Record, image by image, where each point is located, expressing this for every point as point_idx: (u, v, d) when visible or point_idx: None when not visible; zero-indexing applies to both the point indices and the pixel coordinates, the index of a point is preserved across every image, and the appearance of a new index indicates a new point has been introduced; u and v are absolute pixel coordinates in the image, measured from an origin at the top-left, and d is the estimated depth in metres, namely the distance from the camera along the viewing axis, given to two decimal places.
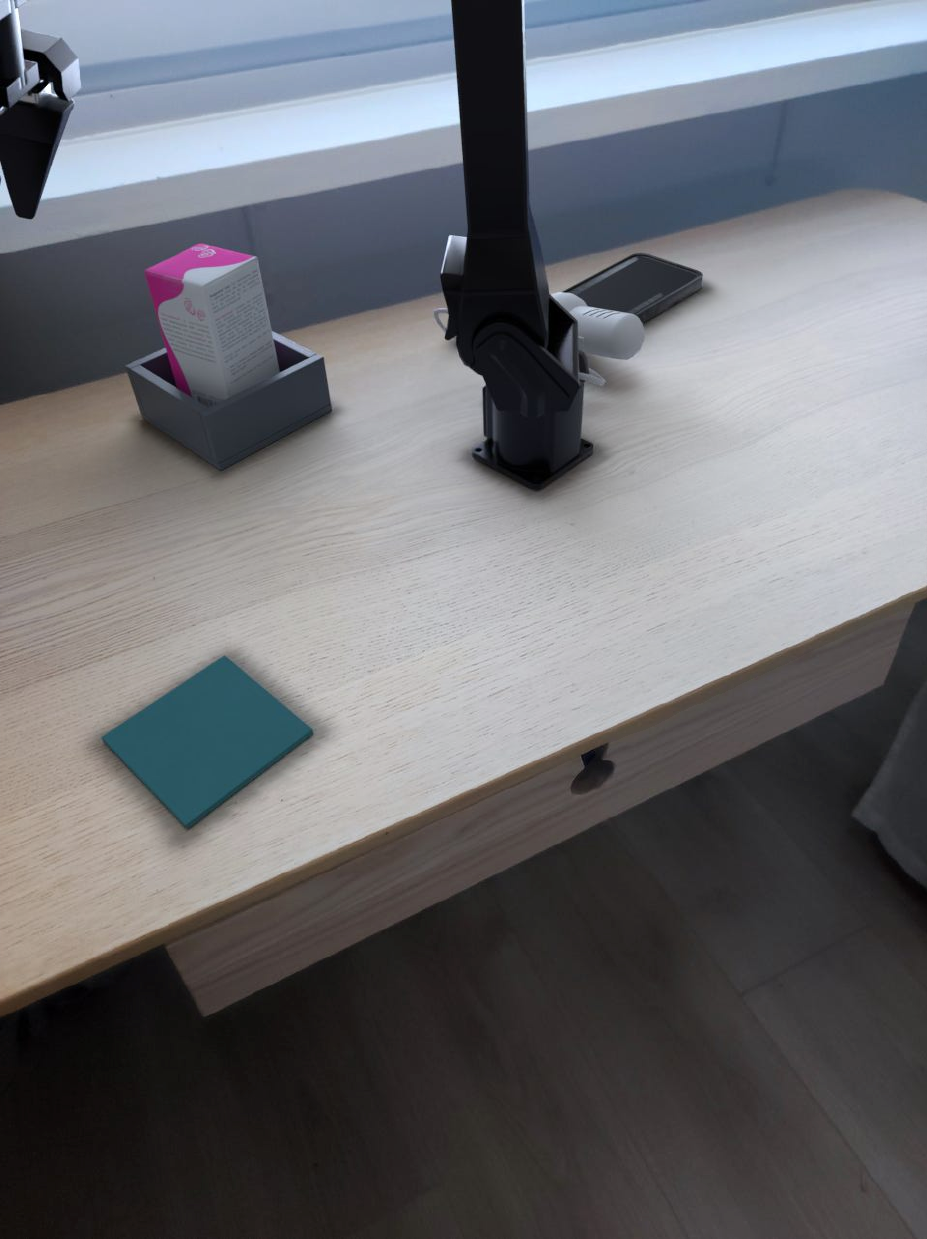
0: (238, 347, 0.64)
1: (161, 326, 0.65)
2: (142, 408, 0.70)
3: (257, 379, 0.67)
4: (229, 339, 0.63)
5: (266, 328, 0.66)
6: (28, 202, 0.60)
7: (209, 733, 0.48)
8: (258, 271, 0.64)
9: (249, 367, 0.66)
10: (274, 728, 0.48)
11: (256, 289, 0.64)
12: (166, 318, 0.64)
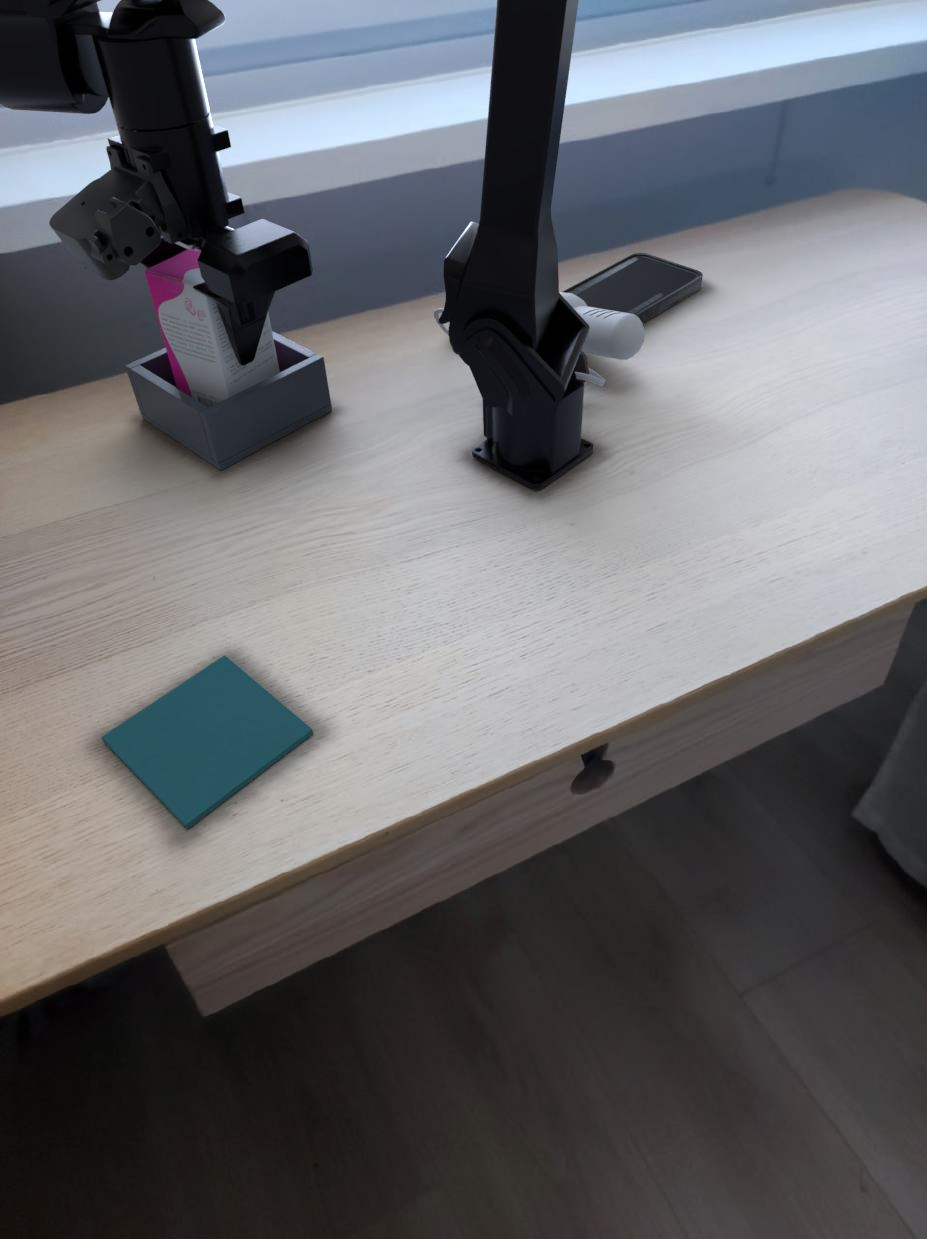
0: None
1: (161, 326, 0.65)
2: (142, 408, 0.70)
3: (257, 380, 0.67)
4: None
5: (266, 328, 0.66)
6: None
7: (209, 733, 0.48)
8: None
9: (250, 367, 0.66)
10: (274, 728, 0.48)
11: None
12: (166, 318, 0.64)
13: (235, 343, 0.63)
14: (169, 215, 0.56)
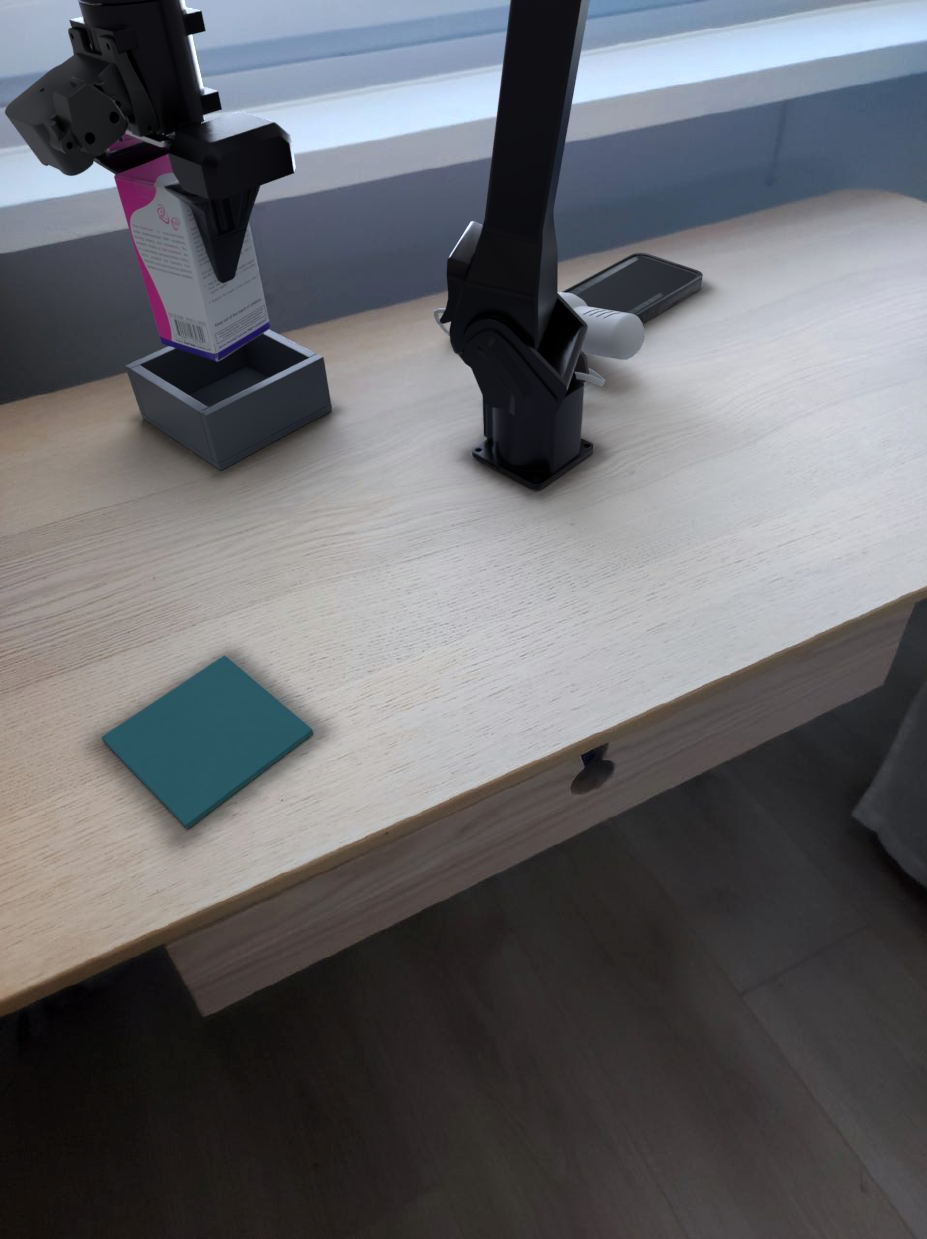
0: None
1: (134, 240, 0.59)
2: (142, 408, 0.70)
3: (238, 301, 0.62)
4: None
5: (248, 244, 0.61)
6: None
7: (209, 733, 0.48)
8: None
9: (230, 287, 0.61)
10: (274, 728, 0.48)
11: None
12: (139, 230, 0.59)
13: (213, 256, 0.58)
14: (137, 103, 0.51)
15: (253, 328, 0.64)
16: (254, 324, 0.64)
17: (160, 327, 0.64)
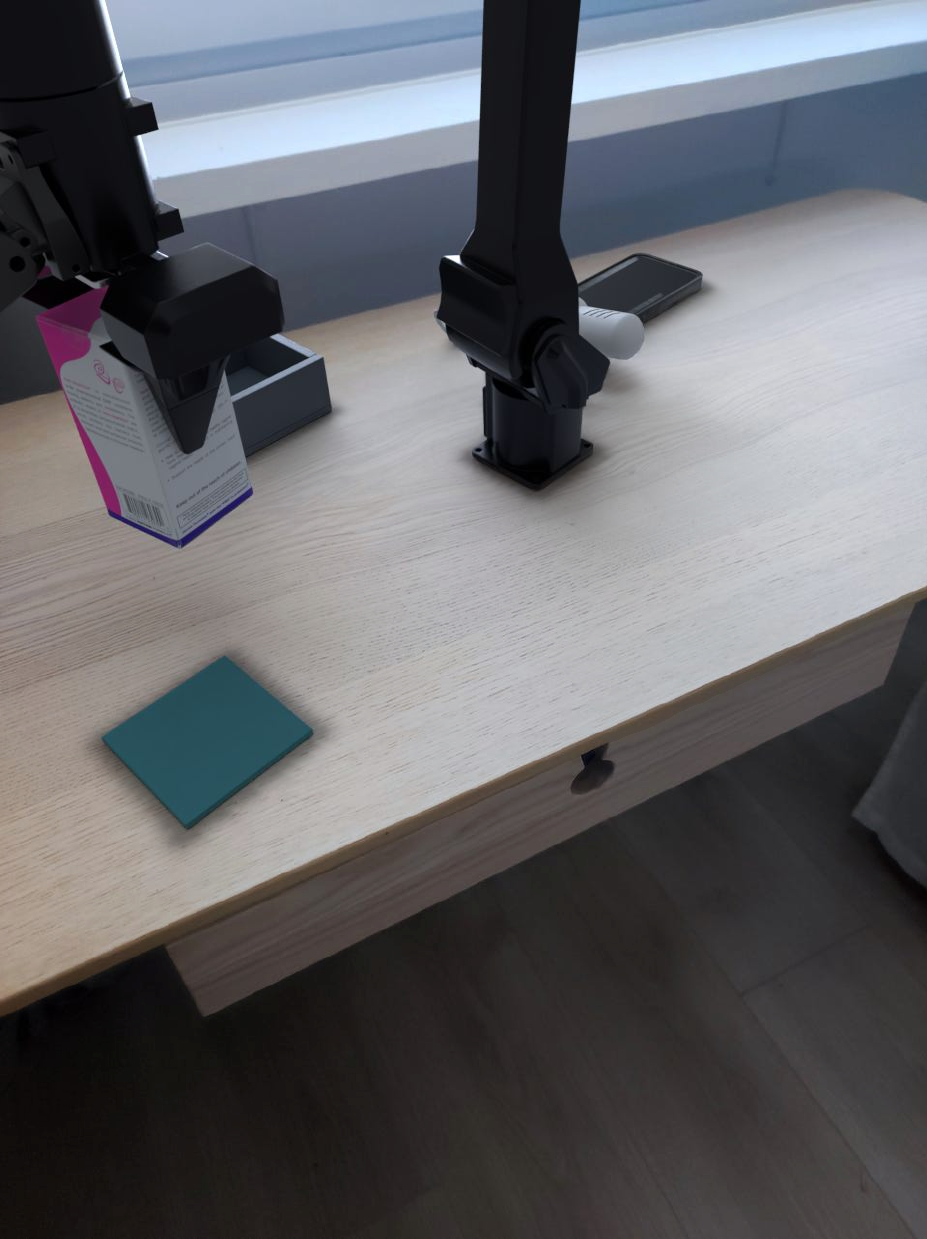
0: None
1: (66, 396, 0.44)
2: None
3: (210, 471, 0.46)
4: None
5: (223, 398, 0.45)
6: None
7: (209, 733, 0.48)
8: None
9: (198, 455, 0.45)
10: (274, 728, 0.48)
11: None
12: (72, 385, 0.43)
13: (172, 425, 0.42)
14: (56, 236, 0.35)
15: (230, 499, 0.48)
16: (231, 494, 0.48)
17: (107, 499, 0.48)
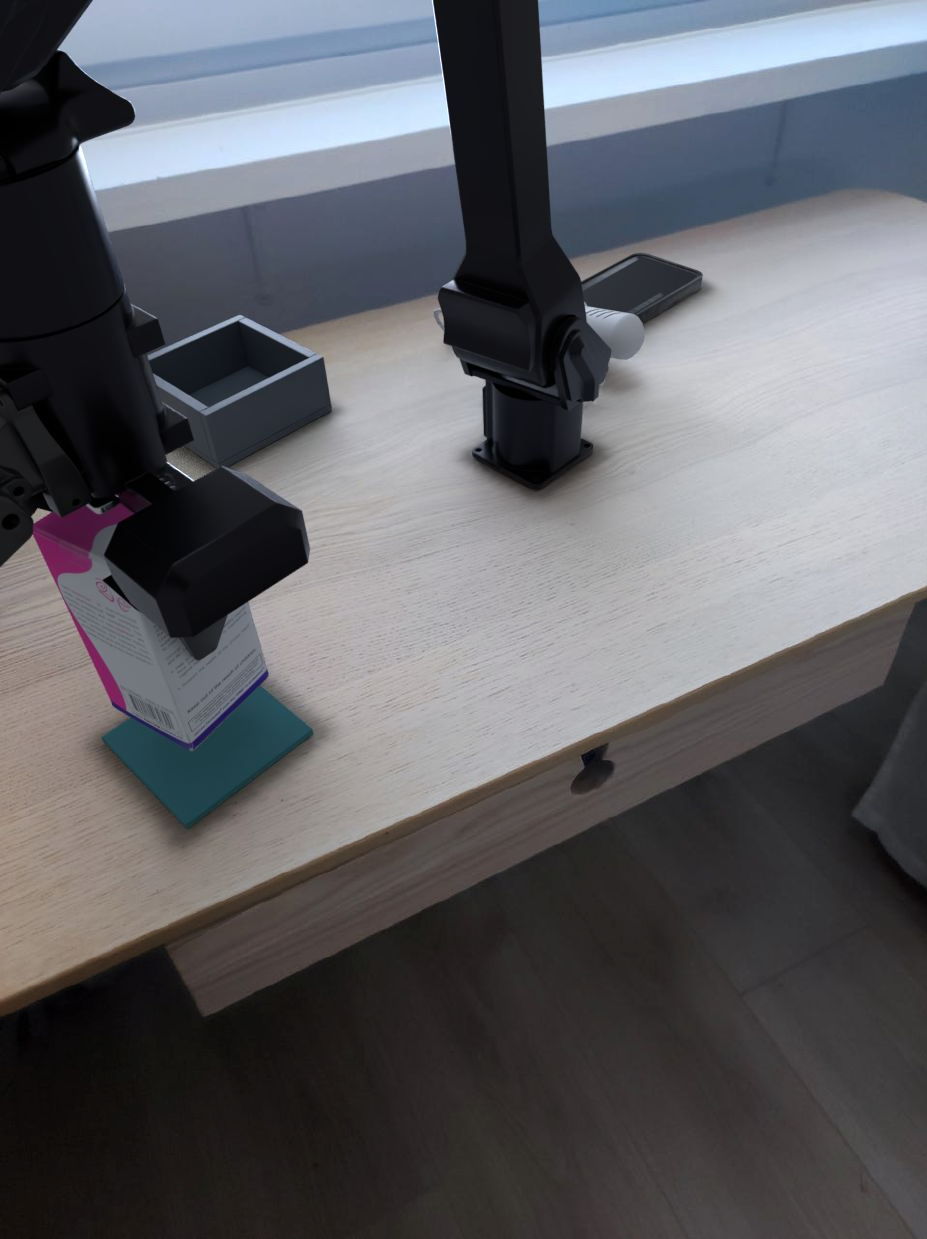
0: None
1: (65, 600, 0.40)
2: None
3: (223, 667, 0.42)
4: None
5: None
6: None
7: None
8: None
9: (210, 655, 0.41)
10: (274, 728, 0.48)
11: None
12: (71, 594, 0.39)
13: (183, 639, 0.38)
14: (53, 476, 0.31)
15: (244, 688, 0.44)
16: (246, 683, 0.44)
17: (110, 693, 0.44)
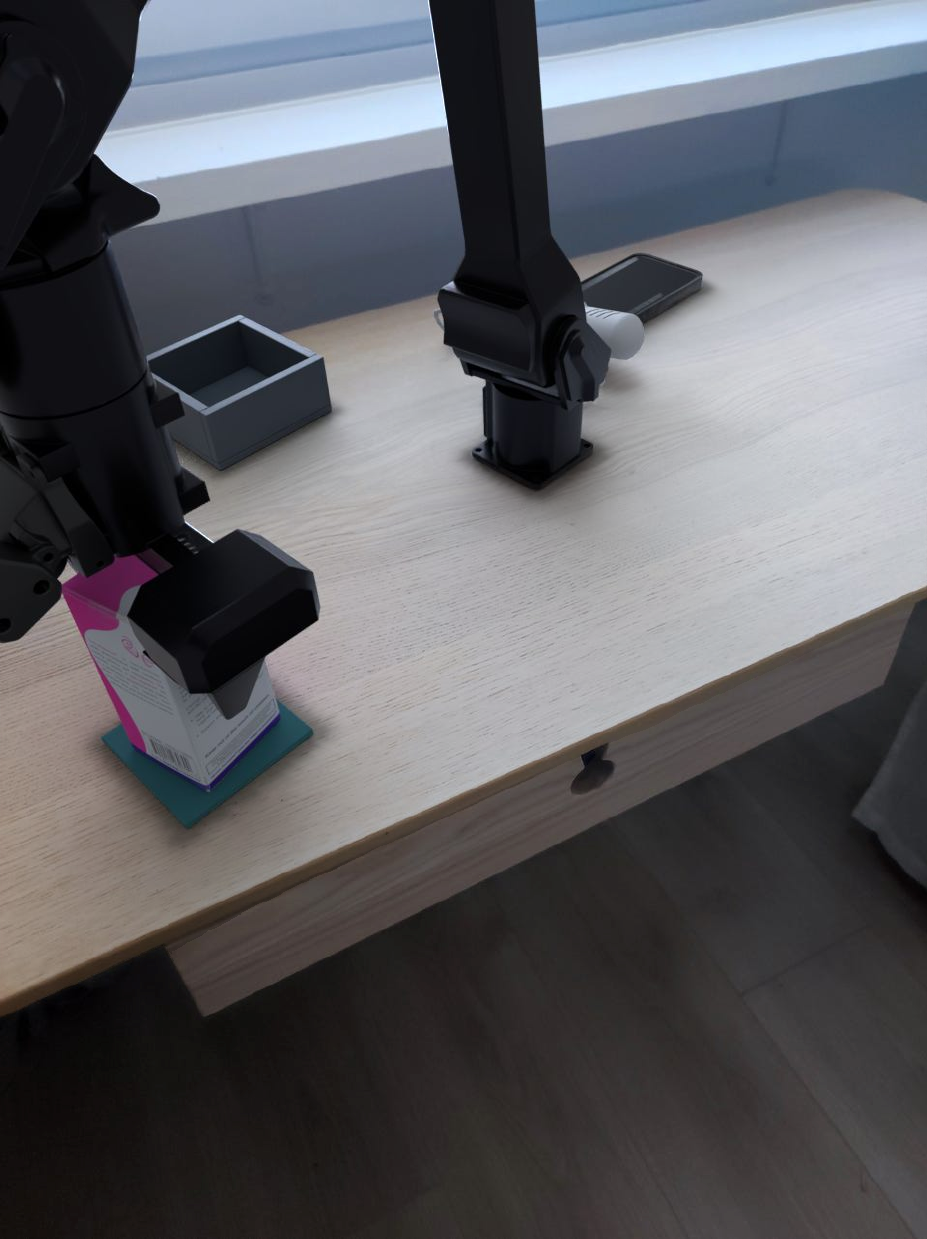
0: None
1: (91, 653, 0.42)
2: None
3: (238, 714, 0.45)
4: None
5: None
6: None
7: None
8: None
9: None
10: (274, 728, 0.48)
11: None
12: (97, 647, 0.41)
13: (216, 702, 0.39)
14: (79, 541, 0.33)
15: (258, 732, 0.47)
16: (259, 727, 0.47)
17: (131, 736, 0.46)
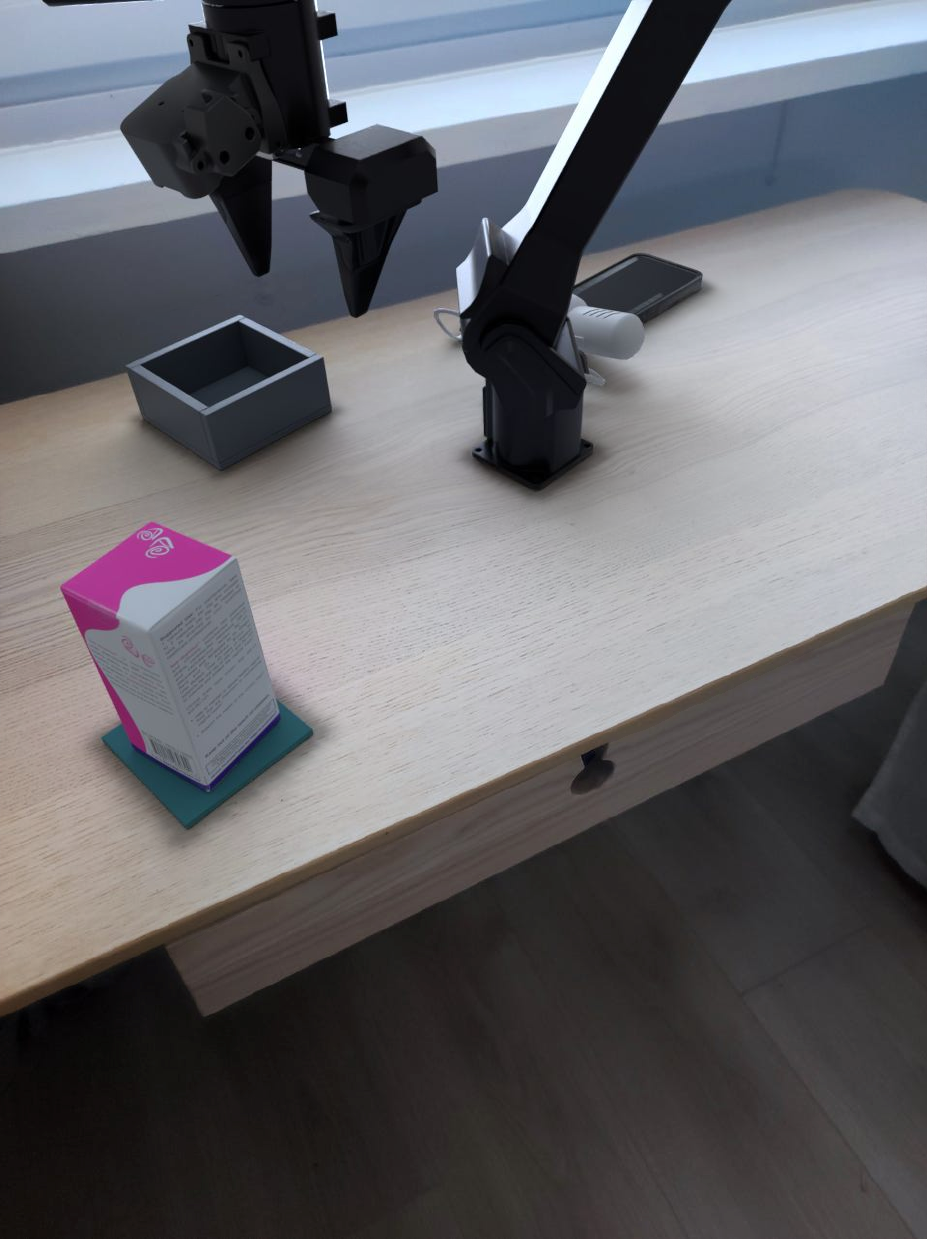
0: (209, 685, 0.42)
1: (91, 652, 0.42)
2: (142, 408, 0.70)
3: (238, 714, 0.45)
4: (195, 681, 0.41)
5: (252, 643, 0.44)
6: (265, 255, 0.58)
7: None
8: (239, 576, 0.41)
9: (227, 703, 0.44)
10: (274, 728, 0.48)
11: (235, 601, 0.42)
12: (97, 647, 0.41)
13: (350, 289, 0.52)
14: (268, 117, 0.46)
15: (258, 732, 0.47)
16: (259, 727, 0.47)
17: (131, 736, 0.46)
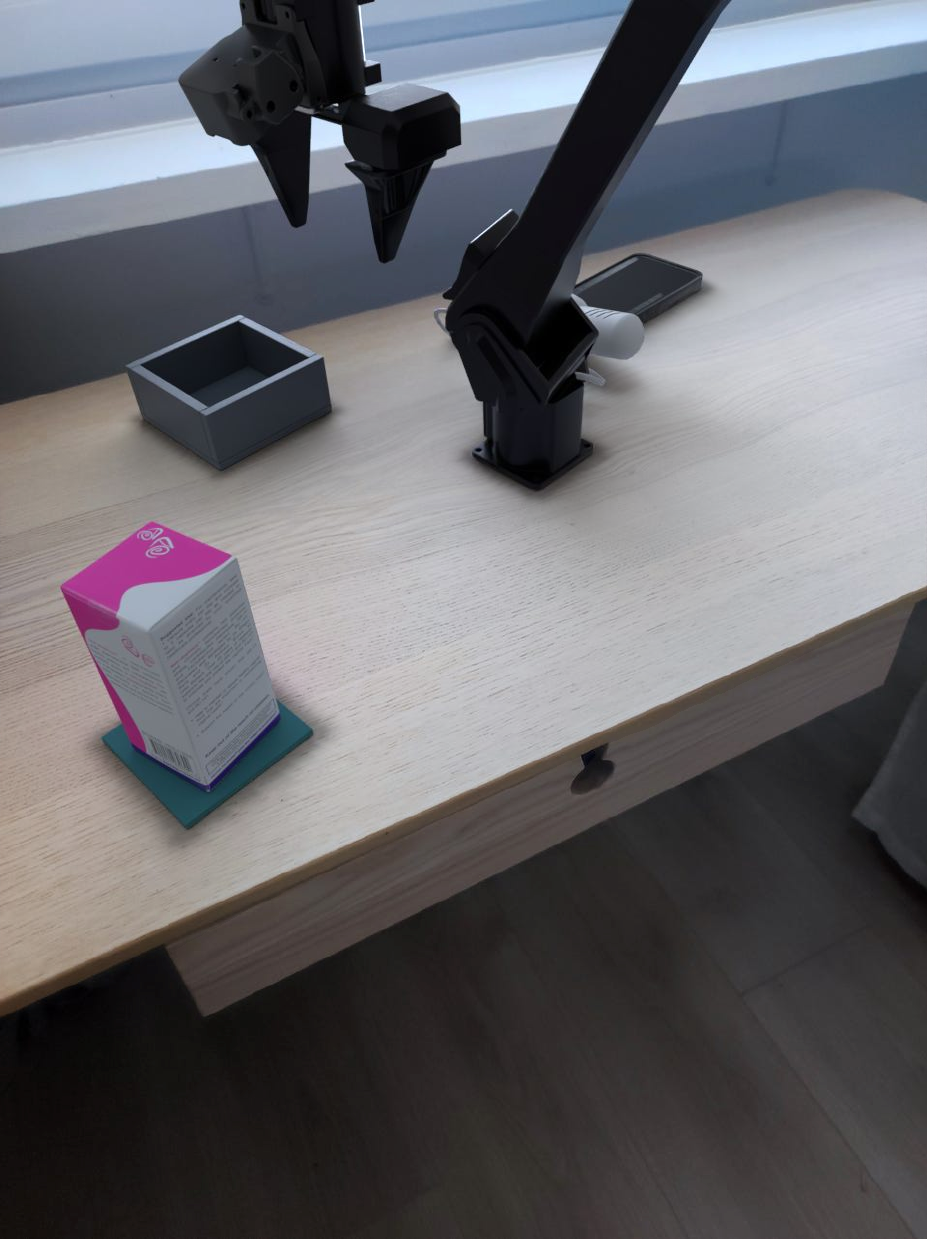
0: (209, 685, 0.42)
1: (91, 652, 0.42)
2: (142, 408, 0.70)
3: (238, 713, 0.45)
4: (195, 681, 0.41)
5: (252, 643, 0.44)
6: (302, 207, 0.63)
7: None
8: (239, 575, 0.41)
9: (227, 703, 0.44)
10: (274, 728, 0.48)
11: (235, 601, 0.42)
12: (97, 647, 0.41)
13: (380, 235, 0.57)
14: (310, 73, 0.51)
15: (258, 732, 0.47)
16: (259, 727, 0.47)
17: (131, 736, 0.46)
